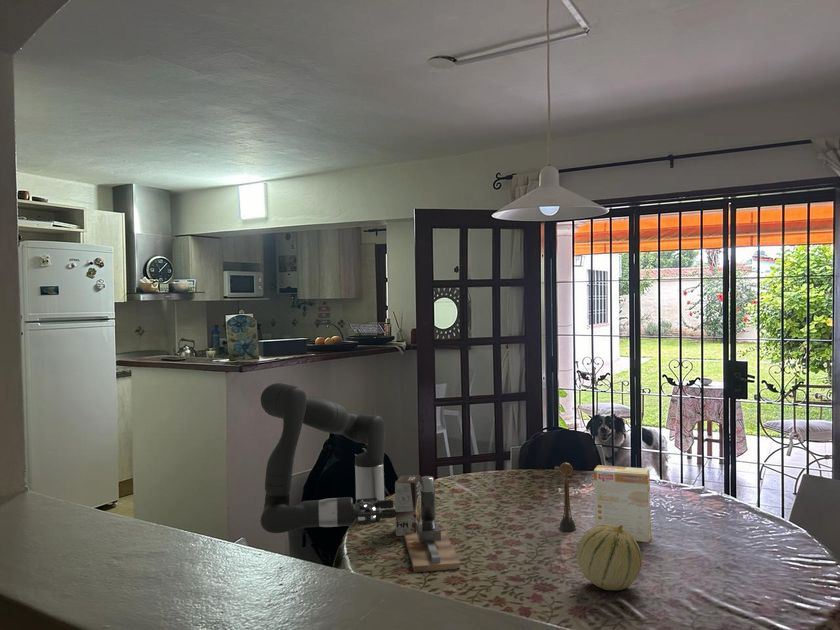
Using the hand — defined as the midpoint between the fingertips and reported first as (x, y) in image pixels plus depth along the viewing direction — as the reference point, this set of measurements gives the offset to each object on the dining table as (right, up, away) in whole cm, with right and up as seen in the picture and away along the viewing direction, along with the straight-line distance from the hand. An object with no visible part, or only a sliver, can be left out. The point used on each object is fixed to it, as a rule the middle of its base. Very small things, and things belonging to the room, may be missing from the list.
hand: (394, 508), depth 174 cm
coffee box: (+4, -12, +16) cm, 20 cm away
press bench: (+10, -12, -2) cm, 16 cm away
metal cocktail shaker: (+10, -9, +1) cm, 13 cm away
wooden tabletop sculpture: (+51, -11, +15) cm, 54 cm away
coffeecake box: (+66, -10, +7) cm, 68 cm away
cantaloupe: (+52, -11, -26) cm, 59 cm away
